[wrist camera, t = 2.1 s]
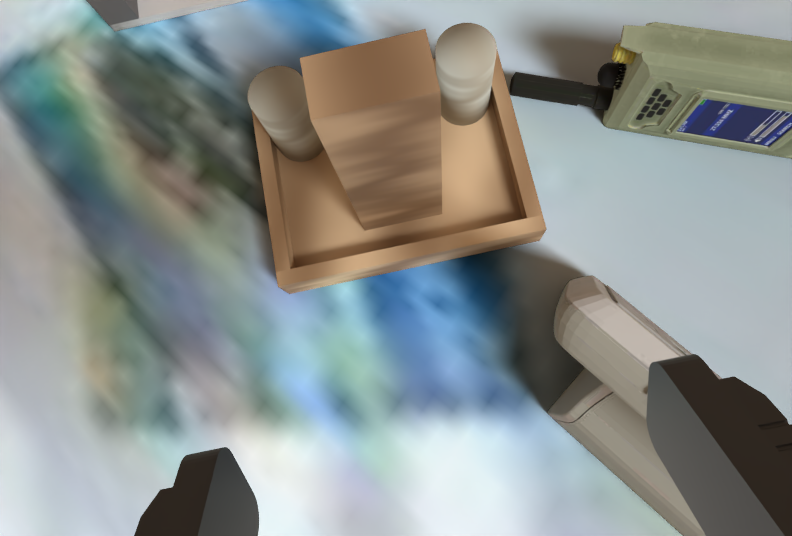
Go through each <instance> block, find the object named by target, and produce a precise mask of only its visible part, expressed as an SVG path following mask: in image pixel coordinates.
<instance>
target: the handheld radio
mask: <svg viewBox="0 0 792 536" xmlns="http://www.w3.org/2000/svg"><path fill="white" fill-rule="evenodd" d="M612 61H614V62H617V61H618V64H616V63H607V64H604V65H603V66H602V67H601V68H600V70H599V72H598V82H599V83H600V85H599V86H598V87H597V86H590V85H584V84H583V83H580V82H574V81H568V80H561V79H555V78H549V77H543V76H537V75H531V74H525V73H519V72H515V74H514V75H513V77H512V79H511V84H510V94H511V95H514V96H520V97H526V98H532V99H538V100H545V101H551V102H557V103H563V104H570V105H576V106H577V105H578V104H580V105H587V106H593V108H594V109H601V110H604V116H603V121H602V122H603V124H604V126H606V127H608V128H611V129H617V130H623V131H629V132H635V133H641V134H647V135H653V136H659V137H665V138H671V139H677V140H683V141H689V142H695V143H701V144H707V145H713V146H719V147H725V148H731V149H737V150H743V151H749V152H755V153H761V154H767V155H773V156H779V157H785V158H791V159H792V41H787V40H780V39H773V38H765V37H758V36H751V35H744V34H737V33H729V32H722V31H715V30H708V29H701V28H694V27H686V26H679V25H672V24H665V23H658V22H654V23H649V24H646V26H623V30H622V35H621V41H620V42H619V43H618V44H616V45H615V48H614V51H613V54H612ZM621 62H623V63H621ZM620 70H622V71H620ZM618 75H619V76H618ZM617 78H618V79H617Z"/></svg>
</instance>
